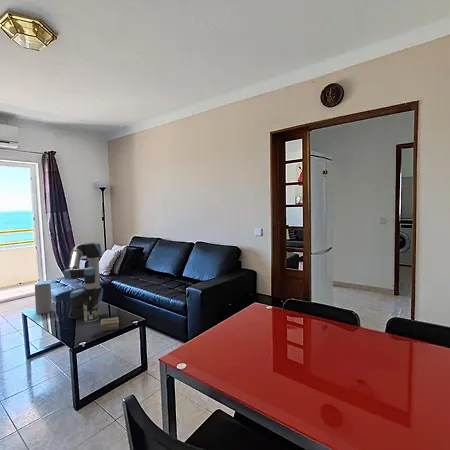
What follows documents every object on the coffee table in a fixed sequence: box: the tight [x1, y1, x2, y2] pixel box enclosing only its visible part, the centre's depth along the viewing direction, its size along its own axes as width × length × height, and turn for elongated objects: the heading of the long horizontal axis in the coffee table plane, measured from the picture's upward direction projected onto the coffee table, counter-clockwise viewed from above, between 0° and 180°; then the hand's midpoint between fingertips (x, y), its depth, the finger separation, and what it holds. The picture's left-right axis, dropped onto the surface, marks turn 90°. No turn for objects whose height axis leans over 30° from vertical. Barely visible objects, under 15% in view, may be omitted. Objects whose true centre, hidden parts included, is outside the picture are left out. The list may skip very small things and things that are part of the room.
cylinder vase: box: [34, 283, 53, 315], centre depth 268 cm, size 12×12×25 cm
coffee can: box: [83, 299, 99, 323], centre depth 221 cm, size 10×10×14 cm
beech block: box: [100, 316, 120, 332], centre depth 232 cm, size 13×13×5 cm
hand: (91, 316), depth 221 cm, fingers closed on coffee can, 10 cm apart
